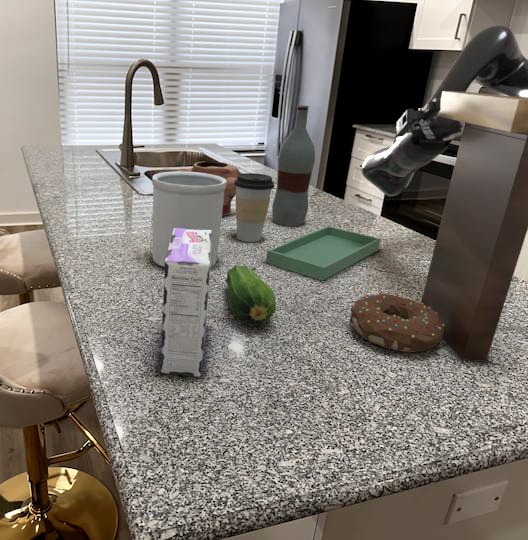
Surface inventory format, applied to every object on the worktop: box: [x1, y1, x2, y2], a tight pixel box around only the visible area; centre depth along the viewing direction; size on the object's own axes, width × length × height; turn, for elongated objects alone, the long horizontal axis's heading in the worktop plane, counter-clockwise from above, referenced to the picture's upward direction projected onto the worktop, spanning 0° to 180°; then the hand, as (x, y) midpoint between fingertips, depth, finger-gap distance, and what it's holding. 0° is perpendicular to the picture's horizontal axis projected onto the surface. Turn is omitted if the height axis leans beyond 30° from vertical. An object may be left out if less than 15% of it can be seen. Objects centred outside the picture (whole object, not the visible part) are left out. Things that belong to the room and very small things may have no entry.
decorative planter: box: [177, 160, 241, 217], centre depth 141 cm, size 20×12×14 cm, turn 91°
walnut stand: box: [420, 122, 528, 362], centre depth 76 cm, size 4×16×32 cm, turn 177°
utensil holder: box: [151, 170, 227, 268], centre depth 106 cm, size 15×15×18 cm
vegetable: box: [225, 264, 277, 327], centre depth 88 cm, size 7×7×20 cm
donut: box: [349, 292, 445, 353], centre depth 80 cm, size 14×14×5 cm
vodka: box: [271, 104, 316, 227], centre depth 133 cm, size 9×9×30 cm
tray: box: [265, 225, 382, 282], centre depth 114 cm, size 27×13×3 cm, turn 137°
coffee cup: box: [234, 172, 276, 243], centre depth 121 cm, size 9×9×15 cm
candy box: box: [159, 228, 212, 378], centre depth 71 cm, size 14×6×16 cm, turn 174°
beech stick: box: [437, 91, 528, 133], centre depth 75 cm, size 4×22×4 cm, turn 177°
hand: (466, 104), depth 81 cm, fingers open, 8 cm apart
